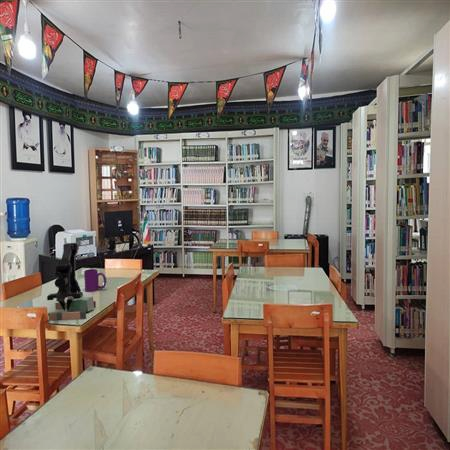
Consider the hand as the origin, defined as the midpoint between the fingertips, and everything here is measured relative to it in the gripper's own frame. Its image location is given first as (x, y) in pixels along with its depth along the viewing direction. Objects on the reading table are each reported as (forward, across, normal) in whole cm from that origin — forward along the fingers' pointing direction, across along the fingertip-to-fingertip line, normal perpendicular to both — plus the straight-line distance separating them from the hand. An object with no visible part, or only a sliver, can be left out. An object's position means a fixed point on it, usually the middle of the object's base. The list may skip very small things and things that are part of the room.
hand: (66, 310), depth 208 cm
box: (+2, +7, +6) cm, 9 cm away
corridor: (+2, +2, +2) cm, 3 cm away
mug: (0, +3, +52) cm, 52 cm away
